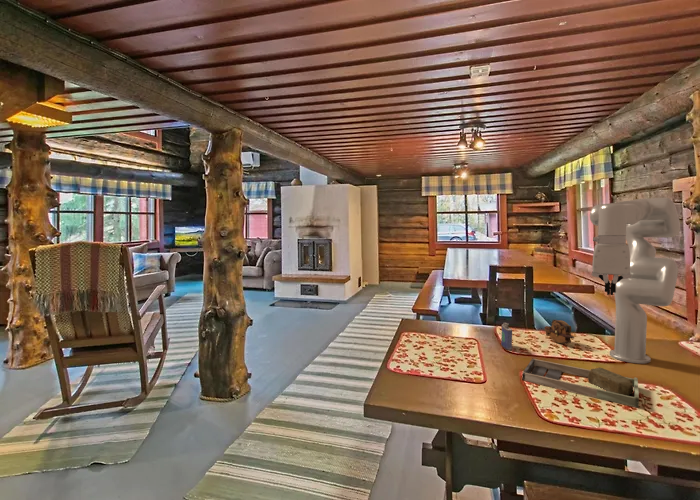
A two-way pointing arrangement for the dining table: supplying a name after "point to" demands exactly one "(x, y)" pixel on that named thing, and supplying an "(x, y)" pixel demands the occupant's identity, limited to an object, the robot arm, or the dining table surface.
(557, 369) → the box
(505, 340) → the flask
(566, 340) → the wooden carving
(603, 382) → the stone block
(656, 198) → the robot arm
